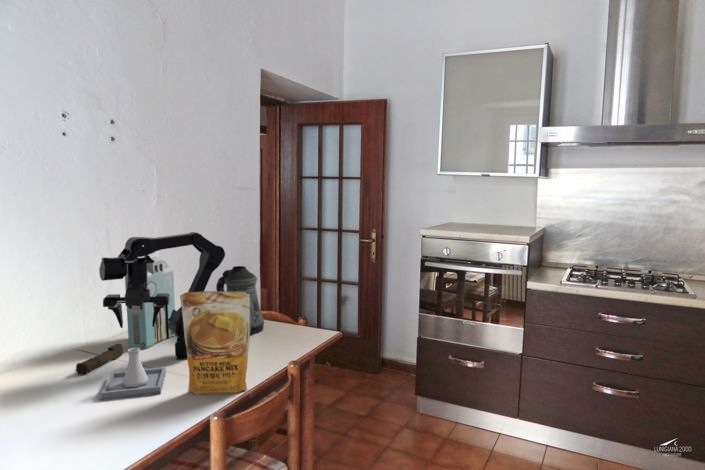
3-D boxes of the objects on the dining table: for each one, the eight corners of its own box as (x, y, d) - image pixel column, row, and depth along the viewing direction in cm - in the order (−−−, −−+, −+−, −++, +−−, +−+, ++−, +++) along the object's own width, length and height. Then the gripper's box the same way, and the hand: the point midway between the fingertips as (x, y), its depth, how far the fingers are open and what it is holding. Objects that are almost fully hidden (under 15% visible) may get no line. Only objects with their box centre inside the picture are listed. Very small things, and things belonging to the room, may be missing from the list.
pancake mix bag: (187, 385, 145) (183, 289, 142) (254, 384, 145) (251, 289, 142) (180, 395, 138) (175, 295, 135) (250, 394, 139) (247, 294, 136)
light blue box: (146, 349, 176) (142, 264, 172) (128, 347, 178) (123, 263, 175) (176, 335, 191) (172, 257, 188) (159, 333, 194) (155, 256, 190)
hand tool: (86, 376, 153) (85, 361, 152) (75, 375, 154) (74, 360, 153) (130, 355, 171) (129, 342, 170) (120, 354, 172) (119, 341, 171)
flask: (120, 381, 146) (119, 347, 145) (147, 376, 149) (145, 343, 148) (122, 390, 140) (120, 355, 139) (150, 385, 143) (148, 351, 142)
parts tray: (165, 373, 154) (165, 367, 153) (160, 393, 139) (160, 386, 139) (112, 379, 150) (111, 372, 150) (101, 400, 135) (100, 393, 135)
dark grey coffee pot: (259, 336, 189) (258, 271, 186) (208, 336, 189) (205, 271, 187) (267, 324, 206) (266, 263, 203) (220, 324, 206) (218, 263, 203)
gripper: (98, 282, 146) (99, 335, 147) (166, 281, 151) (166, 332, 152) (106, 276, 157) (107, 325, 158) (170, 275, 162) (170, 323, 163)
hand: (137, 327), depth 158 cm, fingers open, 9 cm apart
